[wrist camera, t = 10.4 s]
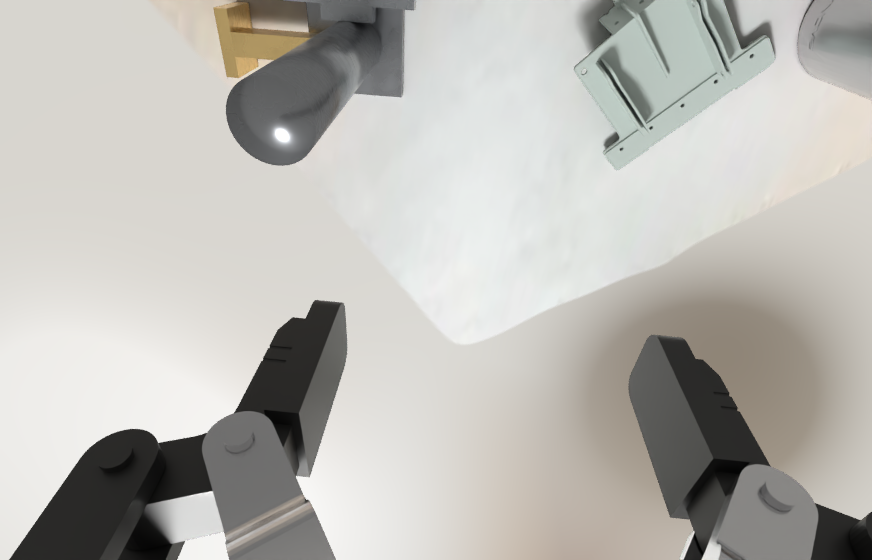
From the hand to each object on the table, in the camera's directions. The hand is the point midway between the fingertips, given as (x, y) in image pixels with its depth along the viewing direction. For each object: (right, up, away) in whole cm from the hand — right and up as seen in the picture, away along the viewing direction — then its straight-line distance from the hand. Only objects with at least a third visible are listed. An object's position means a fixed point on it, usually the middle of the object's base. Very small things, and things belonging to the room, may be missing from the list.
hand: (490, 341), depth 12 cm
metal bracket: (+18, +21, +28) cm, 39 cm away
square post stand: (-10, +26, +25) cm, 38 cm away
